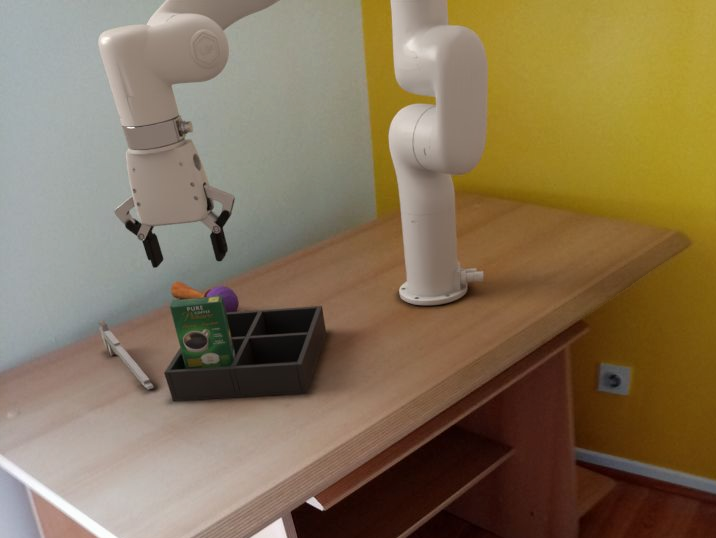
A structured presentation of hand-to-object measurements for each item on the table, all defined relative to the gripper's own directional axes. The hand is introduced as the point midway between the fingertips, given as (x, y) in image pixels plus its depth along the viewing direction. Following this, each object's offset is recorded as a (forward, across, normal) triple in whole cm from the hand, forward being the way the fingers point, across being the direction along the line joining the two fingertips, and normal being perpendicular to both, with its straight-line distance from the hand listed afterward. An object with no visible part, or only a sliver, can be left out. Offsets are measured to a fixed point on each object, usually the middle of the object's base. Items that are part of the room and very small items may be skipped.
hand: (189, 261), depth 111 cm
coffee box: (+19, +1, +1) cm, 19 cm away
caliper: (+19, +18, -5) cm, 27 cm away
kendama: (+20, +11, -29) cm, 37 cm away
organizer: (+20, -4, -4) cm, 20 cm away
